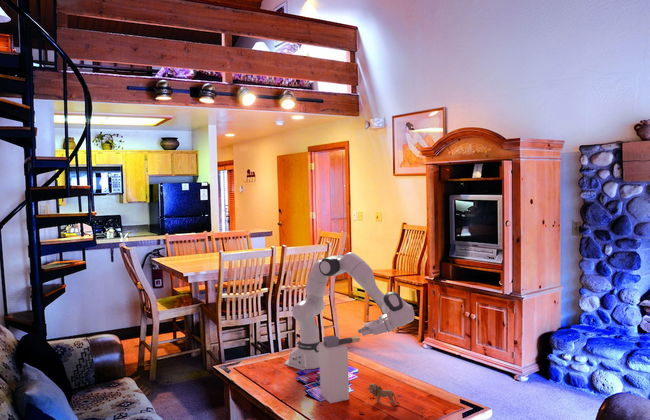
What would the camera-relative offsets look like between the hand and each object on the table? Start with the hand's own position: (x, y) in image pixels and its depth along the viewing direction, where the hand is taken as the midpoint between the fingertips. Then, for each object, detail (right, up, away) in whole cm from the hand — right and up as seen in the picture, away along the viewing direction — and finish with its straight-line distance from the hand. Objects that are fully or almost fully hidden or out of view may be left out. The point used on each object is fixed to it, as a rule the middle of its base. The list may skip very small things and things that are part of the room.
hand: (360, 333), depth 249 cm
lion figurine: (+10, -31, -11) cm, 35 cm away
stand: (-13, -31, -2) cm, 34 cm away
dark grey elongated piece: (-9, -5, -2) cm, 10 cm away
